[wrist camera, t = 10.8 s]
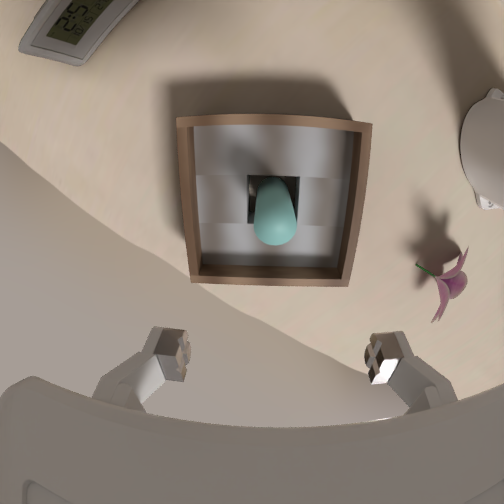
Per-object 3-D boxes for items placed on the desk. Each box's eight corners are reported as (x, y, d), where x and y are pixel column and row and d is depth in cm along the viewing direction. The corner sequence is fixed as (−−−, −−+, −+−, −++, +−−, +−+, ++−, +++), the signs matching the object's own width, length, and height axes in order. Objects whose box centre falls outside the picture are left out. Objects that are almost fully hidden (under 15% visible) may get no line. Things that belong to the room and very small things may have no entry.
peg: (289, 177, 31) (298, 206, 22) (287, 206, 32) (295, 246, 24) (257, 176, 31) (253, 205, 22) (257, 205, 33) (253, 244, 24)
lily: (407, 306, 40) (448, 336, 33) (386, 288, 33) (440, 327, 26) (442, 246, 39) (486, 272, 31) (429, 214, 32) (486, 243, 24)
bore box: (353, 120, 27) (372, 123, 22) (337, 260, 35) (348, 286, 30) (192, 115, 28) (176, 117, 22) (201, 256, 36) (191, 282, 31)
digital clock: (80, 73, 24) (24, 72, 15) (58, 36, 21) (6, 31, 11) (179, -9, 19) (145, -46, 10) (147, -41, 16) (111, -74, 7)
